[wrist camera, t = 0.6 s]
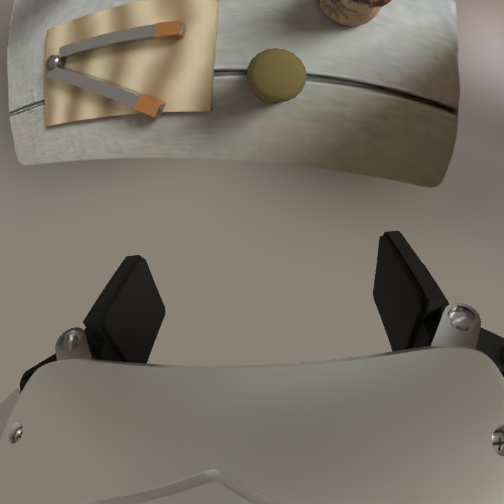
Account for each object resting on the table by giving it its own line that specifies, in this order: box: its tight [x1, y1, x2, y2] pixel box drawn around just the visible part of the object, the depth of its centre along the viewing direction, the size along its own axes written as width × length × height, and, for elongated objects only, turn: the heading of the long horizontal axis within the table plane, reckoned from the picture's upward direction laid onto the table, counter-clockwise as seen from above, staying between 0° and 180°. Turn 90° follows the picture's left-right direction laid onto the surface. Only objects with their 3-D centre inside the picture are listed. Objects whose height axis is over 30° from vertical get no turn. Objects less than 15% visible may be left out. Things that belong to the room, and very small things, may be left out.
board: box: [44, 0, 219, 126], centre depth 27 cm, size 26×16×1 cm, turn 86°
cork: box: [247, 48, 306, 103], centre depth 25 cm, size 6×6×11 cm
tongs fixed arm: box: [59, 20, 186, 58], centre depth 24 cm, size 18×2×2 cm, turn 86°
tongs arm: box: [45, 55, 166, 118], centre depth 27 cm, size 20×3×2 cm, turn 61°
